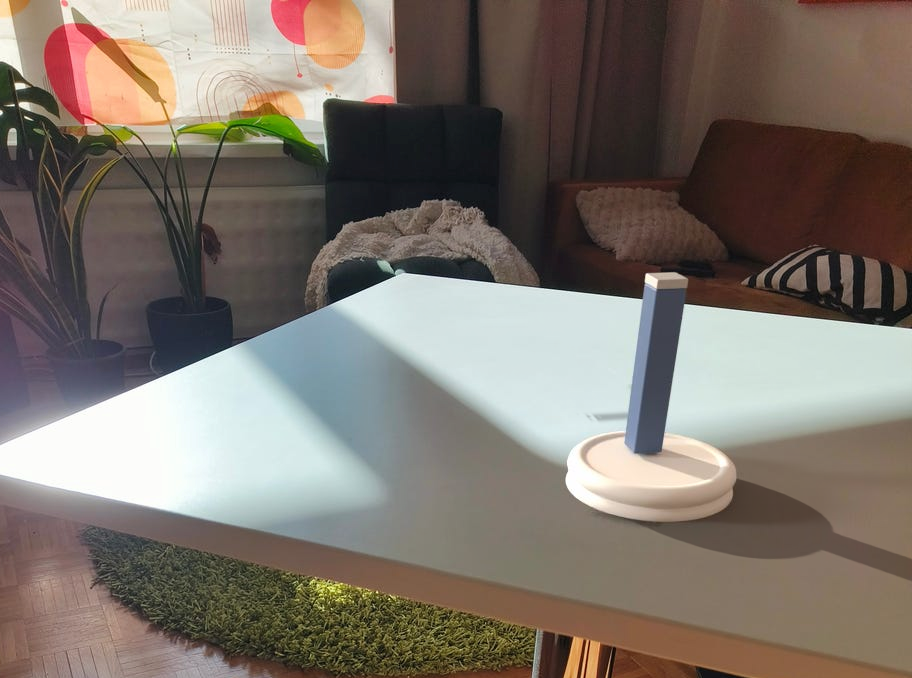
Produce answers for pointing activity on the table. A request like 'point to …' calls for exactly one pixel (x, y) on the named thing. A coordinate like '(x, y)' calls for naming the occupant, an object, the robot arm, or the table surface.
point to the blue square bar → (655, 361)
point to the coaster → (651, 478)
